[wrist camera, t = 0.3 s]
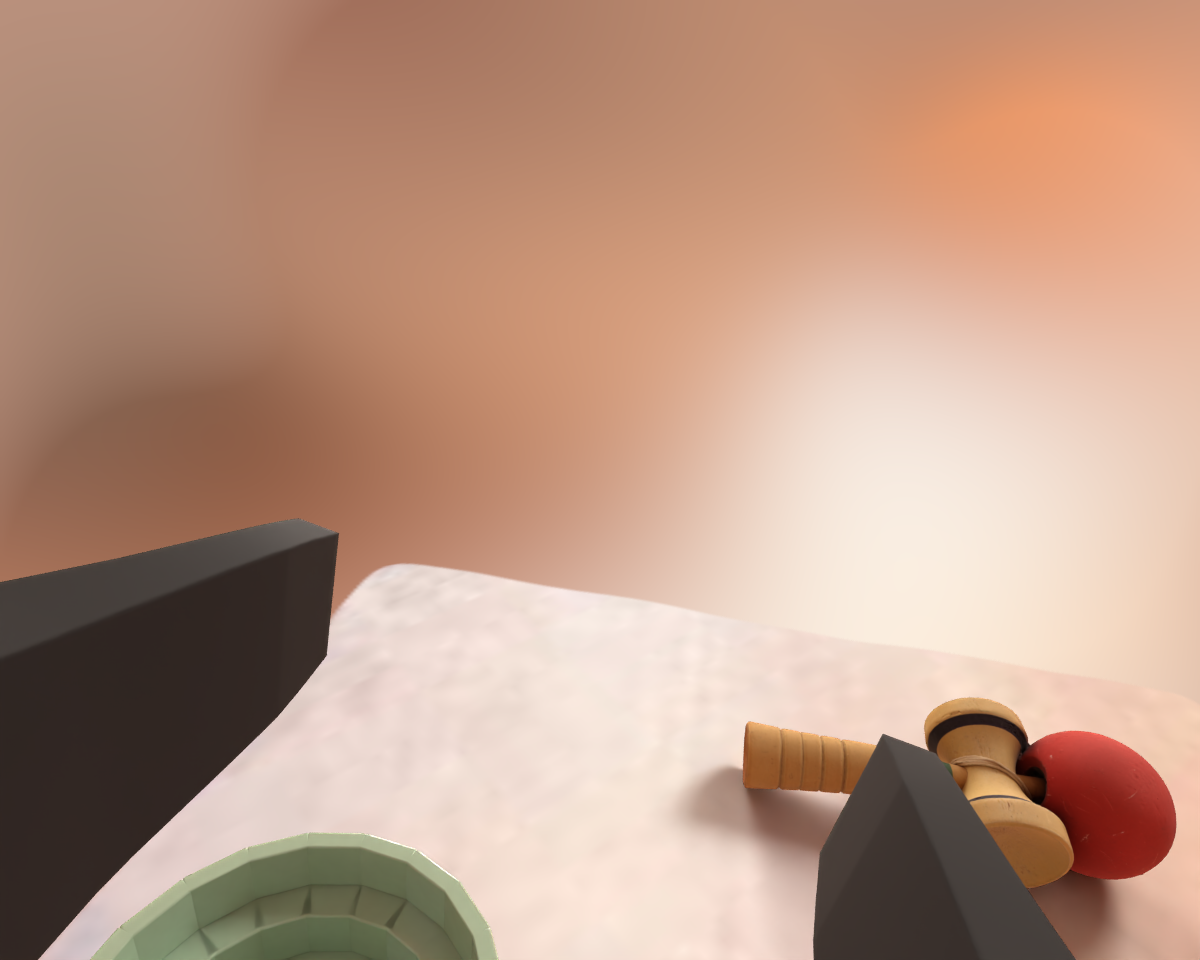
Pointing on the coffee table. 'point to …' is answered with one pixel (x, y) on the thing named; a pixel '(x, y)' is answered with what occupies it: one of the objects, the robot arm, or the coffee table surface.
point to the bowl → (310, 907)
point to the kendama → (1006, 787)
